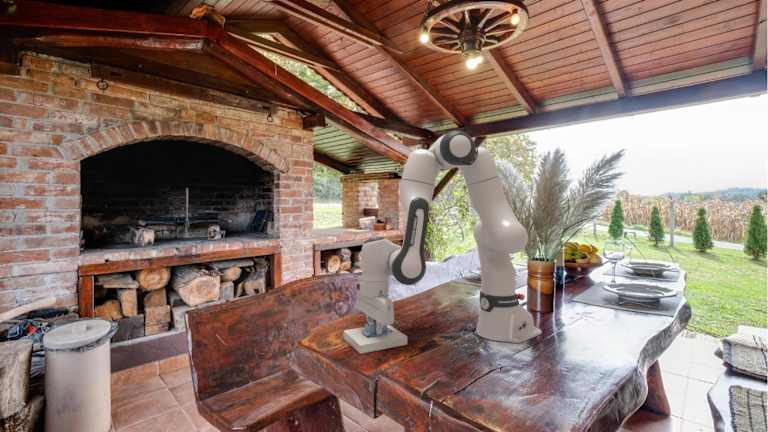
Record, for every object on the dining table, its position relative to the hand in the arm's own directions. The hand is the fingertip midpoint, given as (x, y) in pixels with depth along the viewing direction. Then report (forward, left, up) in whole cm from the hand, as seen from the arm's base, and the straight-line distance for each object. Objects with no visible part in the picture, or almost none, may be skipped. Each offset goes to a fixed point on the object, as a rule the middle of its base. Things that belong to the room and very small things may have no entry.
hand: (374, 330), depth 114 cm
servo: (0, 0, -3) cm, 3 cm away
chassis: (0, 0, -3) cm, 3 cm away
